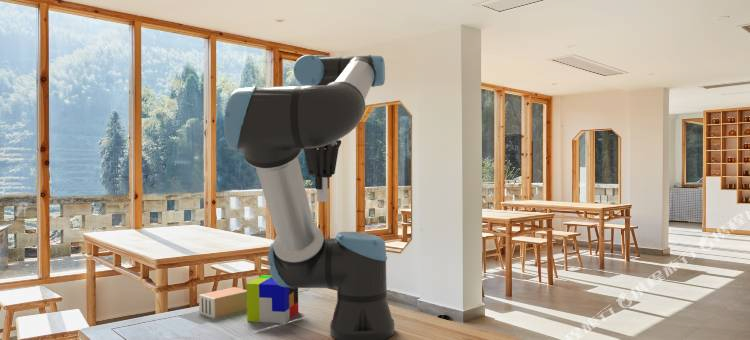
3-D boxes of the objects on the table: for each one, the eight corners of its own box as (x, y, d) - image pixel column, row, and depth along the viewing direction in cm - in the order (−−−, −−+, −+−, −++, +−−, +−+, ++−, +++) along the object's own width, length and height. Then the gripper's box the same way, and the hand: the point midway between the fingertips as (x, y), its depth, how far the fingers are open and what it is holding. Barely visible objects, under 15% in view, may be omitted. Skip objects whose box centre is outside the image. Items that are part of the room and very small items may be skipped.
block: (213, 318, 142) (249, 309, 150) (213, 299, 142) (249, 290, 150) (199, 313, 147) (234, 304, 155) (198, 294, 147) (234, 287, 155)
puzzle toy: (284, 325, 138) (284, 285, 137) (247, 323, 140) (246, 283, 139) (298, 313, 147) (297, 276, 147) (263, 312, 149) (262, 275, 149)
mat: (254, 312, 149) (254, 310, 149) (200, 326, 137) (200, 324, 137) (230, 305, 156) (230, 303, 156) (177, 317, 145) (177, 316, 145)
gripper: (329, 116, 157) (330, 199, 158) (293, 113, 147) (294, 202, 148) (347, 114, 152) (349, 200, 153) (312, 112, 142) (313, 203, 143)
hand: (322, 201), depth 150 cm, fingers closed
